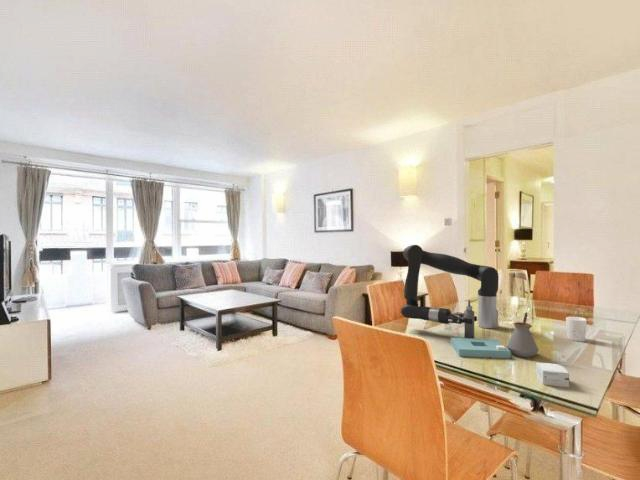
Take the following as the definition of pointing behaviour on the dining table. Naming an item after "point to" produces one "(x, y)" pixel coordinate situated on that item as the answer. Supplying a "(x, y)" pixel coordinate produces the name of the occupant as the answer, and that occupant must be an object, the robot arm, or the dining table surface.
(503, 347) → the socket plate
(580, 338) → the white cup
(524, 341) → the coffee pot
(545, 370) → the small box
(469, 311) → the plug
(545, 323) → the dining table surface
